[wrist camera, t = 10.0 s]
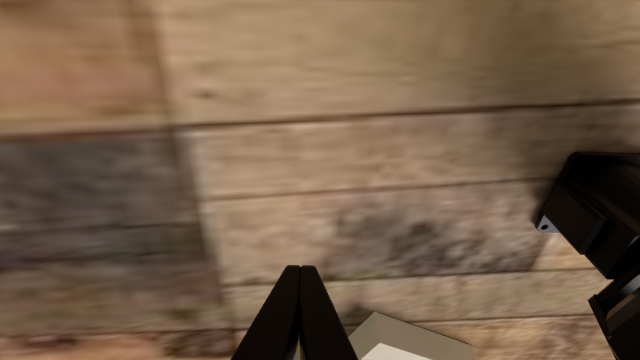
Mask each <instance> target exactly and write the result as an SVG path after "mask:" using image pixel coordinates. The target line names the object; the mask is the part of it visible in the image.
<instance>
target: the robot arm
mask: <svg viewBox="0 0 640 360" xmlns="http://www.w3.org/2000/svg"><path fill="white" fill-rule="evenodd" d="M578 159H579V160H578ZM577 160H578V161H577ZM535 228H536V229H537V230H538V231H539V232H550V233H561V234H562V235H563V236H564V238H565V239H566V240H567V241H568V242H569V243H570V244H571V245H572V246H573V248H574V249H575V250H576V251H577V252H578V253H579V254H581V255H585V256H586V257H587V259H588V260H589V261H590V262H591V263H592V264H593V265H594V266H595V267H596V268H597V269H598V271H599V272H600V273H601V274H602V275H603V276H604V277H605V278H606V279H614V280H613V281H612V282H611V283H610V284H609V285H607V286H606V287H605V288H604V289H603V290H602V291H601V292H599V293H598V294H597V295H596V294H594V295H593V296H592V297H591V298H590V299H589V300H588V302H589V304H590V306H591V308H592V310H593V313H594V315H595V317H596V319H597V321H598V323H599V325H600V327H601V329H602V331H603V334H604V336H605V338H606V340H607V342H608V345H609V347H610V348H611V350H612V352H613V354H614V357H615V359H616V360H640V153H609V152H575V153H573V154H572V155H570V157H569V158H568V160H567V162H566V164H565V166H564V168H563V170H562V171H561V173H560V175H559V177H558V179H557V181H556V183H555V185H554V187H553V189H552V191H551V193H550V195H549V197H548V199H547V201H546V203H545V205H544V207H543V209H542V211H541V213H540V215H539V217H538V219H537V221H536V222H535ZM298 343H299V345H300V359H301V360H358V357H357V355H356V353H355V351H354V349H353V347H352V344H351V342H350V340H349V338H348V336H347V334H346V331H345V329H344V327H343V325H342V323H341V321H340V319H339V316H338V314H337V312H336V310H335V308H334V306H333V303H332V301H331V299H330V297H329V295H328V293H327V290H326V288H325V286H324V284H323V282H322V280H321V277H320V275H319V273H318V271H317V269H316V267H315V266H313V265H303V266H302V267H300V266H299V265H288V266H286V268H285V269H284V271H283V272H282V274H281V276H280V278H279V279H278V281H277V283H276V284H275V286H274V288H273V289H272V291H271V293H270V294H269V296H268V298H267V299H266V301H265V303H264V304H263V306H262V308H261V309H260V311H259V313H258V314H257V316H256V318H255V319H254V321H253V323H252V325H251V326H250V328H249V330H248V331H247V333H246V335H245V336H244V338H243V340H242V341H241V343H240V345H239V346H238V348H237V350H236V351H235V353H234V355H233V356H232V358H231V360H296V357H297V350H298Z"/></svg>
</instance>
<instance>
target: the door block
mask: <svg viewBox="0 0 640 360" xmlns="http://www.w3.org/2000/svg"><path fill="white" fill-rule="evenodd" d="M348 338H349V340H350V342H351V344H352V347H353V349H354V351H355V353H356V355H357V357H358V360H478V358H477V355H476V353H475V350H474V348H473V346H471V345H469V344H466V343H463V342H460V341H457V340H454V339H451V338H449V337H446V336H443V335H440V334H437V333H434V332H432V331H429V330H426V329H423V328H420V327H417V326H414V325H412V324H409V323H406V322H403V321H400V320H397V319H395V318H392V317H389V316H386V315H383V314H380V313H377V312H375V311H374V312H373V313H372V314H371V315H370V316H369V317H368V318H367V319H366V320H365V321H364V322H363V323H362V324H361V325H360V326H359V327H358V328H357V329H356V330H355V331H354V332H353V333H352V334H351V335H350V336H349V337H348Z"/></svg>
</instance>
